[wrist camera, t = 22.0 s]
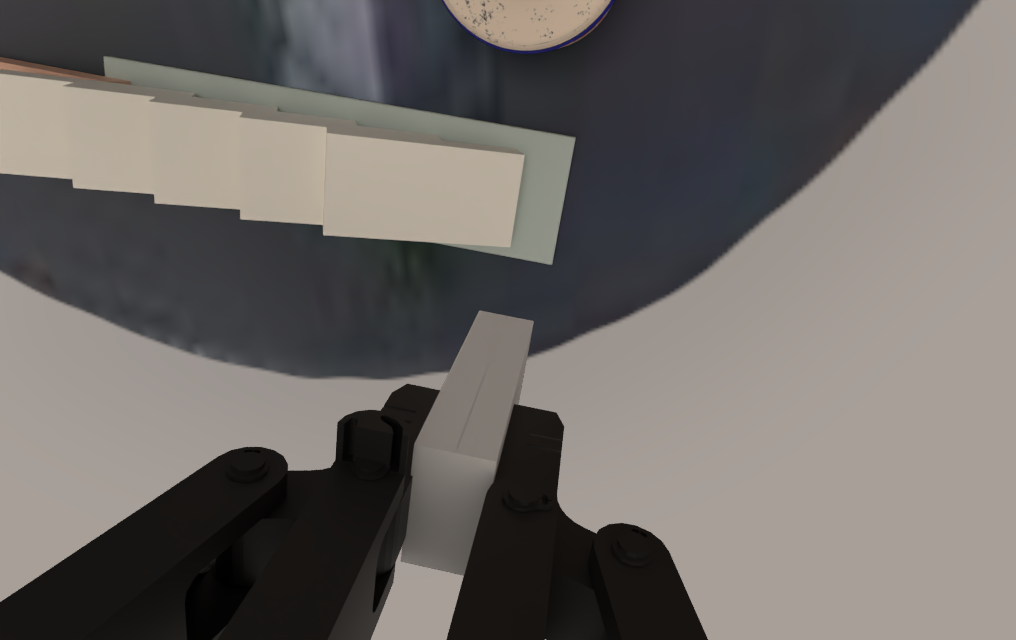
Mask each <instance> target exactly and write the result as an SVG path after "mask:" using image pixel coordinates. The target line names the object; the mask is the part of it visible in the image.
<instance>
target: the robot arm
mask: <svg viewBox="0 0 1016 640" xmlns="http://www.w3.org/2000/svg"><path fill="white" fill-rule="evenodd" d="M533 322H534V321H530V320H525V319H520V318H515V317H510V316H505V315H500V314H495V313H490V312H484V311H479V312H478V314H477V316H476V318H475V320H474V323H473V325H472V327H471V329H470V331H469V333H468V335H467V337H466V339H465V341H464V343H463V345H462V347H461V349H460V351H459V353H458V355H457V357H456V359H455V361H454V364H453V366H452V368H451V370H450V372H449V374H448V376H447V378H446V380H445V382H444V384H443V386H442V388H441V390H435V389H430V388H425V387H421V386H416V385H411V384H406V385H404V386H403V387H401V388H399V389H398V390H396V391H394V392H392V394H391V395H390V397H389V399H388V400H387V402H386V403H385V405H384V407H383V408H382V409H381V411H377V410H365V411H357V412H354V413H352V414H349V415H346V416H345V417H343V418H342V419H341V420H340V421H339V422H338V425H337V443H336V460H335V462H334V463H333V465H332V466H331V468H327V469H323V470H311V471H288V464H287V462H286V460H285V458H284V457H283V456H282V455H281V454H279V453H277V452H276V451H274V450H271V449H266V448H262V447H244V448H240V449H235V450H231V451H229V452H227V453H225V454H222V455H220V456H218V457H217V458H216V459H214V460H213V461H211V462H209V463H208V464H206V465H205V466H203V467H202V468H200V469H199V470H197V471H196V472H194V473H193V474H191V475H190V476H189V477H187V478H186V479H184V480H183V481H181V482H180V483H178V484H176V485H175V486H174V487H172V488H171V489H169V490H168V491H166V492H164V493H163V494H162V495H160V496H159V497H157V498H156V499H154V500H153V501H151V502H150V503H148V504H147V505H145V506H144V507H142V508H141V509H139V510H138V511H136V512H135V513H133V514H132V515H130V516H129V517H127V518H126V519H124V520H123V521H121V522H120V523H118V524H117V525H115V526H114V527H112V528H111V529H109V530H108V531H106V532H105V533H103V534H102V535H100V536H99V537H97V538H96V539H94V540H93V541H91V542H90V543H88V544H87V545H85V546H84V547H82V548H81V549H79V550H78V551H76V552H75V553H73V554H72V555H70V556H69V557H67V558H66V559H64V560H63V561H61V562H60V563H58V564H57V565H55V566H54V567H52V568H51V569H49V570H48V571H46V572H45V573H43V574H42V575H40V576H39V577H37V578H36V579H34V580H33V581H31V582H30V583H28V584H27V585H25V586H24V587H22V588H21V589H19V590H18V591H16V592H15V593H13V594H12V595H11V596H9V597H7V598H6V599H4V600H3V601H1V602H0V640H371V637H372V634H373V632H374V630H375V627H376V624H377V622H378V619H379V617H380V614H381V612H382V609H383V607H384V604H385V602H386V599H387V597H388V594H389V592H390V589H391V587H392V584H393V579H394V572H395V562H396V559H397V557H398V554H399V552H400V550H401V547H402V556H401V562H405V563H410V564H415V565H419V566H423V567H428V568H432V569H437V570H441V571H446V572H450V573H454V574H459V575H463V576H464V578H463V581H462V585H461V589H460V592H459V596H458V600H457V603H456V607H455V611H454V614H453V618H452V622H451V625H450V629H449V633H448V636H447V640H545V639H546V640H708V639H707V637H706V634H705V632H704V630H703V627H702V625H701V623H700V621H699V618H698V616H697V614H696V612H695V610H694V607H693V605H692V603H691V600H690V598H689V596H688V594H687V591H686V589H685V587H684V584H683V582H682V580H681V578H680V575H679V573H678V571H677V569H676V566H675V564H674V562H673V560H672V557H671V555H670V553H669V551H668V550H667V548H666V547H665V545H664V544H663V542H662V541H661V540H660V539H658V538H657V537H656V536H655V535H653V534H652V533H651V532H649V531H646V530H644V529H642V528H640V527H638V526H635V525H630V524H624V523H618V524H609V525H607V526H605V527H603V528H601V529H599V531H598V532H597V534H596V533H594V532H592V531H590V530H588V529H585V528H583V527H582V526H580V525H578V524H576V523H575V522H573V521H572V520H571V519H570V518H569V517H568V516H566V514H565V513H564V512H563V511H562V509H561V508H560V506H559V503H558V501H557V487H558V479H559V469H560V458H561V450H562V441H563V431H564V426H563V424H562V422H561V420H560V418H559V417H558V415H557V413H555V412H550V411H545V410H540V409H535V408H531V407H526V406H521V405H518V403H519V398H520V393H521V388H522V382H523V377H524V371H525V365H526V360H527V355H528V350H529V344H530V339H531V333H532V328H533ZM402 545H403V546H402Z"/></svg>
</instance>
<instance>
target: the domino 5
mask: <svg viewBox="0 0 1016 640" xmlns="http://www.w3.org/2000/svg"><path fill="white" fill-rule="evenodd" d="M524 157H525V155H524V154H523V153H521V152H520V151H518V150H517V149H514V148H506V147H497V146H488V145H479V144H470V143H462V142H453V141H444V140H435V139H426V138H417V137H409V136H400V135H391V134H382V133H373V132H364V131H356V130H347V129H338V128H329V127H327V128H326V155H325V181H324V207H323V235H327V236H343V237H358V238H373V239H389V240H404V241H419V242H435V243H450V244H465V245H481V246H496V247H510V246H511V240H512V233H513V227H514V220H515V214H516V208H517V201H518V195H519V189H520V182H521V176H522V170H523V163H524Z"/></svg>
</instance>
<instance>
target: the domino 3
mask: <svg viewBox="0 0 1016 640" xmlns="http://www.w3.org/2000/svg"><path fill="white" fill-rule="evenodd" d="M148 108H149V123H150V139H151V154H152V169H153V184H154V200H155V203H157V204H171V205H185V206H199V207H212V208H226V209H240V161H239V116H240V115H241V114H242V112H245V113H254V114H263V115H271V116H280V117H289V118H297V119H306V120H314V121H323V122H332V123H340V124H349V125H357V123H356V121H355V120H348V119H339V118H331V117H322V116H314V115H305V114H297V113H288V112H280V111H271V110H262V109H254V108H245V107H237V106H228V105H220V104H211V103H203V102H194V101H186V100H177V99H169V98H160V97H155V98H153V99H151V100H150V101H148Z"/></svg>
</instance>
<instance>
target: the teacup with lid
mask: <svg viewBox="0 0 1016 640" xmlns="http://www.w3.org/2000/svg"><path fill="white" fill-rule="evenodd" d="M614 1H615V0H442V2H443V4H444V5H445V7H446V8H447V10H448V11H449V13H450V14H451V15H452V16H453V18H454V19H455V20H456V21H457V22H458V23H459V24H460V26H461V27H462V28H464V29H465V30H466V31H467V32H468V33H469V34H471V35H472V36H474V37H475V38H476V39H478V40H480V41H481V42H483V43H485V44H487V45H489V46H491V47H494V48H496V49H499V50H503V51H507V52H511V53H520V54H535V53H543V52H547V51H552V50H555V49H558V48H562V47H565V46H568V45H570V44H573V43H575V42H577V41H578V40H580V39H582V38H583V37H585V36H586V35H587V34H589V33H590V32H591V31H592V30H593V29H595V28H596V26H597V25H598V24H599V23H600V22H601V21H602V20H603V18H604V17H605V16H606V14H607V13H608V11H609V10H610V8H611V6H612V4H613V3H614Z"/></svg>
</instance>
